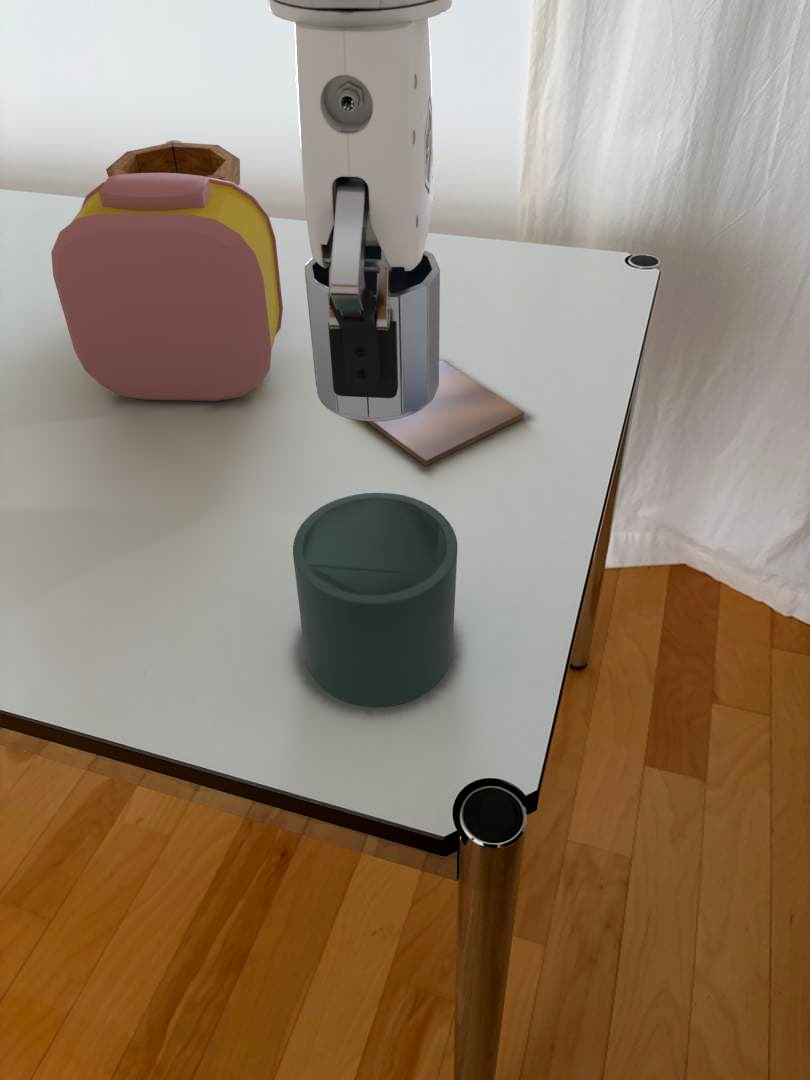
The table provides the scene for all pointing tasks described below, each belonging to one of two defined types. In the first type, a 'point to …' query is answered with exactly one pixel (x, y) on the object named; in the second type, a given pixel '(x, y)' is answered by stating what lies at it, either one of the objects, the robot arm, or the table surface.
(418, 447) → the coaster mat
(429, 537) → the dark green cylinder
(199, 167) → the mug
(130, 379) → the alarm clock
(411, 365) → the cup
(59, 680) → the table surface
